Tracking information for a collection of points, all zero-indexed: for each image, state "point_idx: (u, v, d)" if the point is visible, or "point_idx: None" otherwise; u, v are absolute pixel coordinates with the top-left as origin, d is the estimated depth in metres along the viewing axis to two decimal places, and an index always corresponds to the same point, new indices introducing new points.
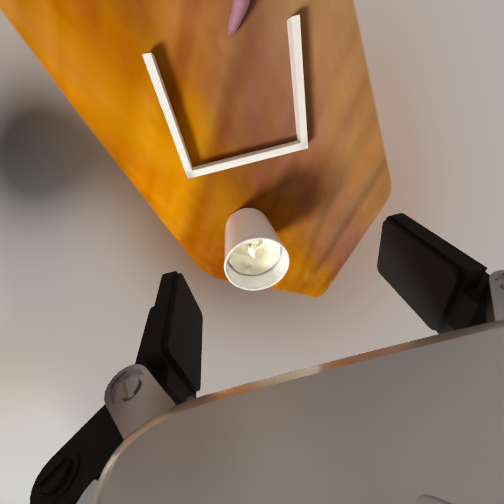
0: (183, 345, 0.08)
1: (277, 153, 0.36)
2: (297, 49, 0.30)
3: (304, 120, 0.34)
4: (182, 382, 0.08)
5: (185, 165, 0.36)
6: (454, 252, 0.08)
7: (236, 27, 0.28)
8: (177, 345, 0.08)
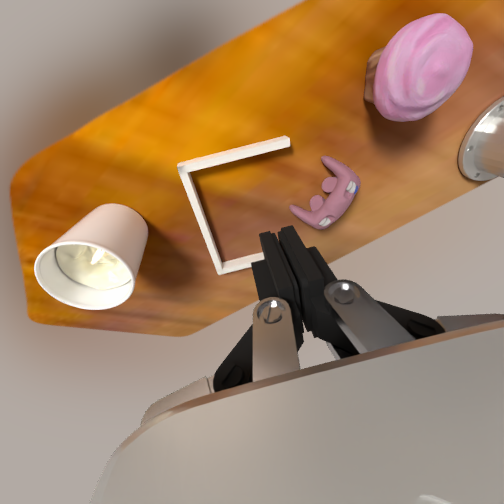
0: None
1: (212, 253, 0.39)
2: None
3: (239, 268, 0.42)
4: None
5: (192, 165, 0.31)
6: (308, 263, 0.09)
7: (294, 213, 0.37)
8: None
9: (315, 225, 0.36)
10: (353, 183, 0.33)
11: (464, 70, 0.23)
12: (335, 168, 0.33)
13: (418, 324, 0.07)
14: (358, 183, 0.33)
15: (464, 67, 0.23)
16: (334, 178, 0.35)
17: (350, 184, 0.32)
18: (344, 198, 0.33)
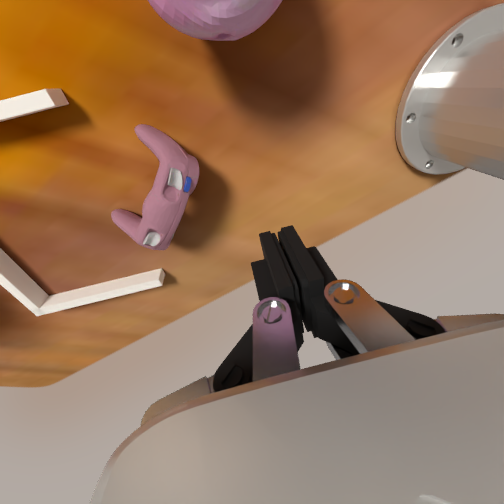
0: None
1: (6, 286, 0.25)
2: (133, 288, 0.27)
3: (67, 306, 0.27)
4: None
5: None
6: (308, 263, 0.09)
7: (116, 223, 0.23)
8: None
9: (141, 244, 0.21)
10: (177, 172, 0.18)
11: None
12: (149, 144, 0.18)
13: (418, 324, 0.07)
14: (192, 173, 0.18)
15: None
16: None
17: (169, 174, 0.18)
18: (164, 199, 0.18)
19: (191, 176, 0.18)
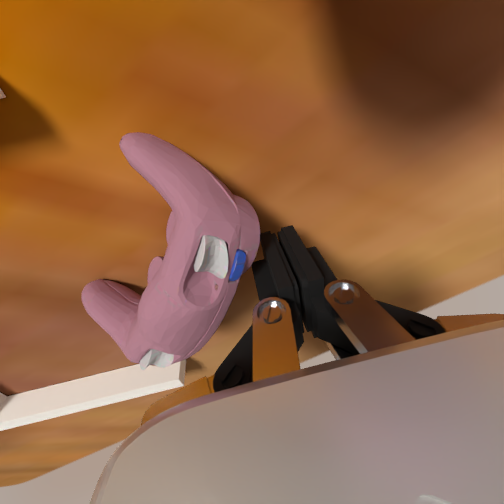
0: None
1: None
2: (139, 392, 0.17)
3: (34, 420, 0.17)
4: None
5: None
6: (308, 263, 0.09)
7: None
8: None
9: None
10: (217, 245, 0.08)
11: None
12: (152, 178, 0.08)
13: (418, 324, 0.07)
14: (247, 240, 0.08)
15: None
16: None
17: (200, 250, 0.08)
18: (186, 303, 0.08)
19: (246, 248, 0.08)
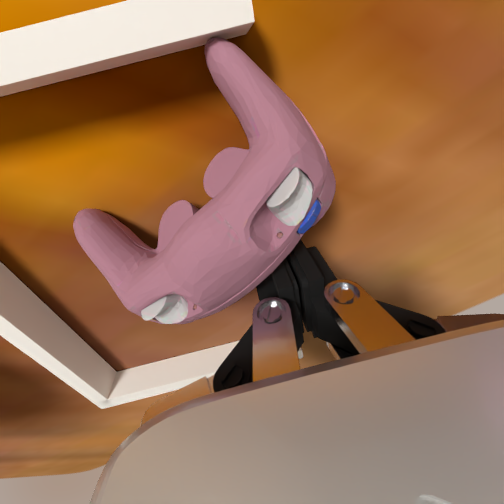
0: None
1: (62, 375, 0.14)
2: None
3: (152, 393, 0.17)
4: None
5: None
6: (308, 263, 0.09)
7: None
8: None
9: (133, 311, 0.09)
10: (304, 183, 0.07)
11: None
12: (244, 90, 0.07)
13: (418, 324, 0.07)
14: (326, 193, 0.08)
15: None
16: (246, 154, 0.09)
17: (289, 183, 0.06)
18: (248, 242, 0.07)
19: (322, 201, 0.07)
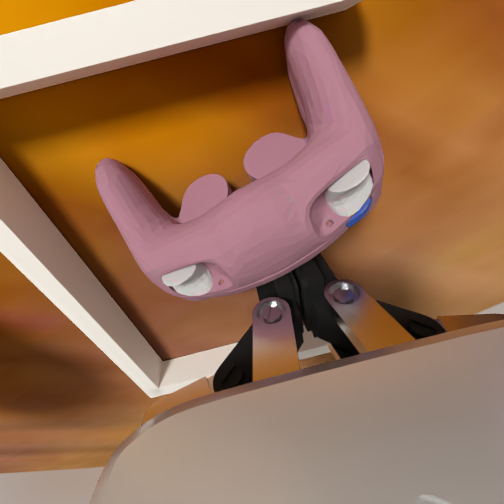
0: None
1: (120, 362, 0.14)
2: (310, 352, 0.17)
3: None
4: None
5: None
6: (308, 263, 0.09)
7: (99, 191, 0.09)
8: None
9: (149, 276, 0.08)
10: (368, 177, 0.07)
11: None
12: (327, 75, 0.07)
13: (418, 324, 0.07)
14: (376, 193, 0.08)
15: None
16: (297, 142, 0.09)
17: (358, 172, 0.07)
18: (306, 221, 0.07)
19: (372, 200, 0.08)
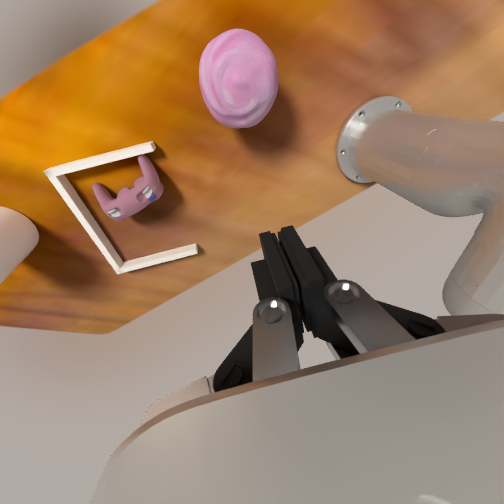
0: None
1: (104, 252, 0.41)
2: (179, 255, 0.43)
3: (137, 267, 0.43)
4: None
5: (59, 170, 0.33)
6: (308, 263, 0.09)
7: (93, 191, 0.35)
8: None
9: (105, 212, 0.34)
10: (150, 190, 0.33)
11: (268, 81, 0.24)
12: (142, 168, 0.33)
13: (418, 324, 0.07)
14: (158, 193, 0.34)
15: (266, 78, 0.24)
16: None
17: (146, 189, 0.33)
18: (135, 198, 0.33)
19: (156, 195, 0.34)
